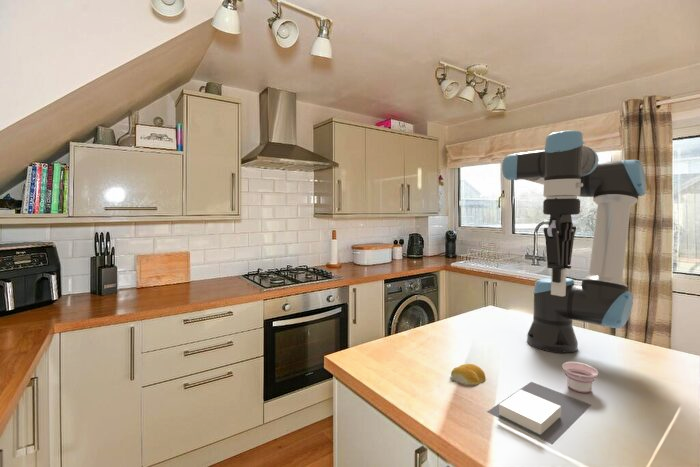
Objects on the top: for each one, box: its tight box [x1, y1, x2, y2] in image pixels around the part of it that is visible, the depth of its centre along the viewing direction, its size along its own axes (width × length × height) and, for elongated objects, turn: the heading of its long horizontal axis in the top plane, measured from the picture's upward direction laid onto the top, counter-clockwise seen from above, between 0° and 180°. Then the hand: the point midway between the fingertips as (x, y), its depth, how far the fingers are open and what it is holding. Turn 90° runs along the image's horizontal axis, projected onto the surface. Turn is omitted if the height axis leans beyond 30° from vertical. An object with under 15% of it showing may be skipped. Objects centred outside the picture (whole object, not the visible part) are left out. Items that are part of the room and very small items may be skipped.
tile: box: [498, 389, 561, 435], centre depth 77 cm, size 9×3×10 cm
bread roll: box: [450, 363, 487, 386], centre depth 96 cm, size 8×9×4 cm
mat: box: [486, 381, 592, 445], centre depth 80 cm, size 14×22×1 cm, turn 128°
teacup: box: [562, 361, 599, 394], centre depth 89 cm, size 12×12×6 cm
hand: (558, 294), depth 83 cm, fingers closed
